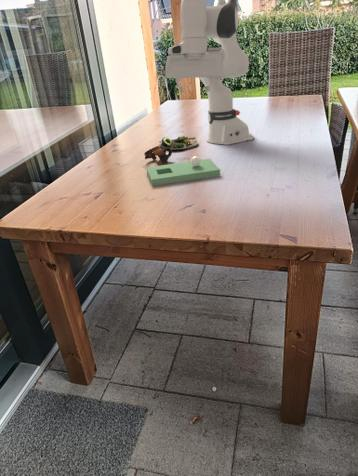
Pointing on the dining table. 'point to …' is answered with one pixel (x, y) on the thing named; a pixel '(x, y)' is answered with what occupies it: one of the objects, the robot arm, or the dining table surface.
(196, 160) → the ball
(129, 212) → the dining table surface
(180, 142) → the salad plate
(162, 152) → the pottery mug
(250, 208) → the dining table surface
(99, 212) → the dining table surface
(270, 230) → the dining table surface
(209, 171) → the green board
